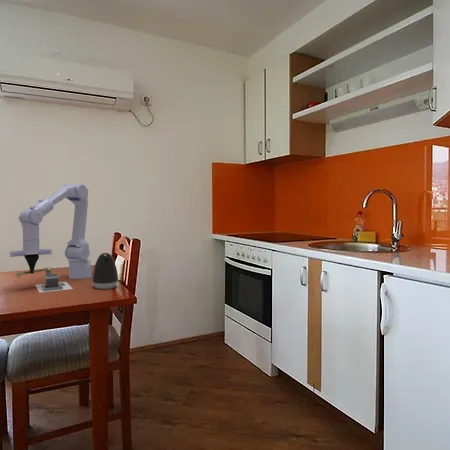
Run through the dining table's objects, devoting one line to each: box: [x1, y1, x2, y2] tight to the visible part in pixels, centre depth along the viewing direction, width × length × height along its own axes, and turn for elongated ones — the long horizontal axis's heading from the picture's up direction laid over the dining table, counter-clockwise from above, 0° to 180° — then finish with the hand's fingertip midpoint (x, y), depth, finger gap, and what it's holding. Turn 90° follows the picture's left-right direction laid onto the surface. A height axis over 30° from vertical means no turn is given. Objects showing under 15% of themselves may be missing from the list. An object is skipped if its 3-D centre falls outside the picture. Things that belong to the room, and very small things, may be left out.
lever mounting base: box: [35, 270, 74, 294], centre depth 144 cm, size 12×15×7 cm
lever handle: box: [15, 267, 53, 279], centre depth 143 cm, size 3×14×2 cm, turn 150°
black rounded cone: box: [91, 252, 119, 290], centre depth 145 cm, size 10×10×15 cm
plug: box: [44, 273, 60, 288], centre depth 141 cm, size 5×5×6 cm
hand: (31, 273), depth 140 cm, fingers closed, pressing on lever handle
